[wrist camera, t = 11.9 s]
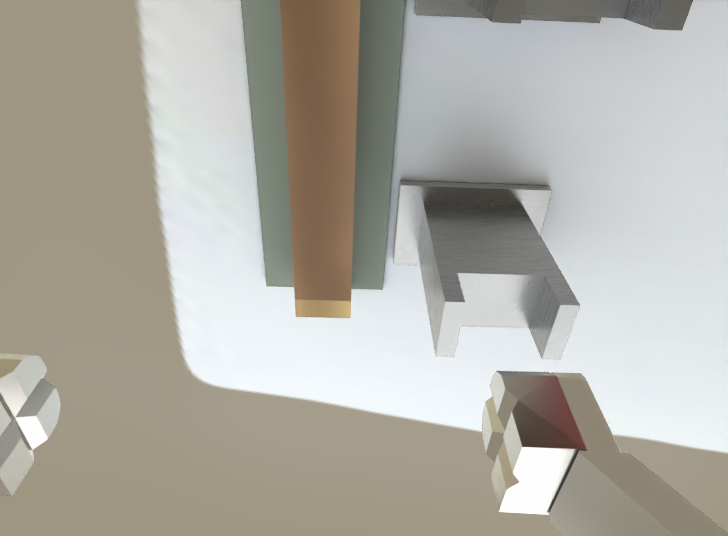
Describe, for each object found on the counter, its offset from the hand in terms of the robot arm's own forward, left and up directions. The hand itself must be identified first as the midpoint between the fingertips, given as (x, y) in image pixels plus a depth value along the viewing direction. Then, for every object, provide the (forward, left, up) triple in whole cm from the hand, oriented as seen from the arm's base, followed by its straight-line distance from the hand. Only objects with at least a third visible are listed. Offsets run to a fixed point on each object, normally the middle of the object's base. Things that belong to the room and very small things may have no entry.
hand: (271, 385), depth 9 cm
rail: (0, 0, -18) cm, 18 cm away
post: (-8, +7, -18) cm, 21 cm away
